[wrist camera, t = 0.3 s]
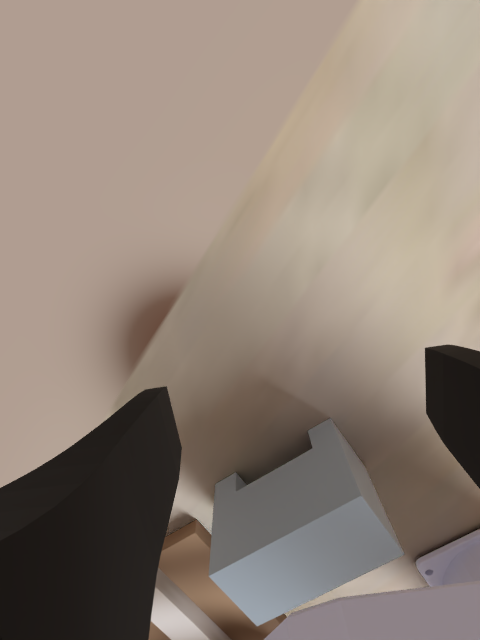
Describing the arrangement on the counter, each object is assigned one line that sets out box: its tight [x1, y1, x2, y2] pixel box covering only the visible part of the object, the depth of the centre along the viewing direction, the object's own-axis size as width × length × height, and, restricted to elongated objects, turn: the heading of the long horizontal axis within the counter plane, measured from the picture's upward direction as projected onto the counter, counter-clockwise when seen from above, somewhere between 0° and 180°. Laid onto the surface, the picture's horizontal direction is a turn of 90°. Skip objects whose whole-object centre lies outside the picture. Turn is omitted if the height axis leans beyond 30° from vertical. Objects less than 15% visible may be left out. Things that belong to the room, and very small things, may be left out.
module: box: [209, 418, 404, 626], centre depth 21 cm, size 4×9×6 cm, turn 125°
